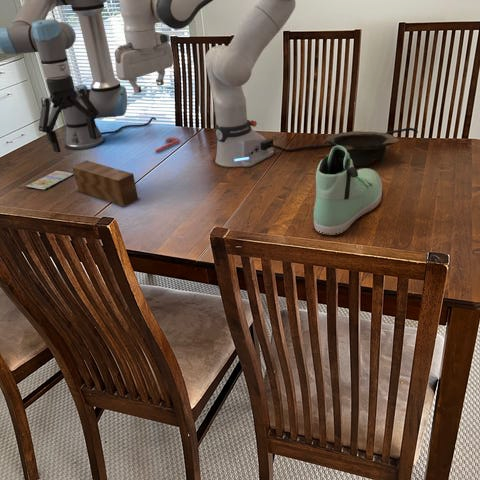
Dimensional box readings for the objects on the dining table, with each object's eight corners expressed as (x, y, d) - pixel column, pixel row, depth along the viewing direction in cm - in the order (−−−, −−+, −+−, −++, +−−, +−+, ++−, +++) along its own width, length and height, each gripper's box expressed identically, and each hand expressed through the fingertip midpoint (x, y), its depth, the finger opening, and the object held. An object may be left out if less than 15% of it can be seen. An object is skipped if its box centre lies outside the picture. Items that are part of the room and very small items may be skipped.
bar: (78, 191, 163) (71, 166, 158) (92, 184, 167) (86, 160, 162) (124, 207, 150) (118, 180, 145) (138, 199, 154) (133, 173, 149)
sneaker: (389, 187, 148) (396, 123, 138) (356, 242, 123) (361, 168, 112) (346, 181, 154) (350, 119, 144) (306, 232, 129) (307, 161, 118)
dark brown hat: (355, 177, 156) (355, 149, 151) (311, 159, 176) (310, 134, 172) (413, 158, 165) (414, 132, 160) (364, 143, 185) (364, 119, 180)
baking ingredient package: (25, 185, 168) (56, 169, 179) (25, 186, 168) (56, 171, 180) (43, 188, 164) (74, 172, 176) (44, 190, 165) (74, 173, 176)
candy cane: (146, 151, 191) (146, 147, 190) (171, 139, 201) (171, 135, 200) (157, 153, 188) (157, 150, 187) (182, 141, 198) (182, 137, 197)
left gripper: (26, 87, 133) (47, 159, 144) (100, 69, 149) (114, 135, 160) (13, 85, 137) (34, 155, 148) (86, 67, 153) (100, 131, 164)
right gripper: (121, 47, 130) (130, 98, 137) (173, 34, 143) (179, 82, 151) (106, 46, 133) (116, 96, 141) (158, 34, 147) (165, 80, 154)
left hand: (76, 145), depth 154 cm, fingers open, 13 cm apart
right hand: (149, 88), depth 146 cm, fingers open, 8 cm apart
